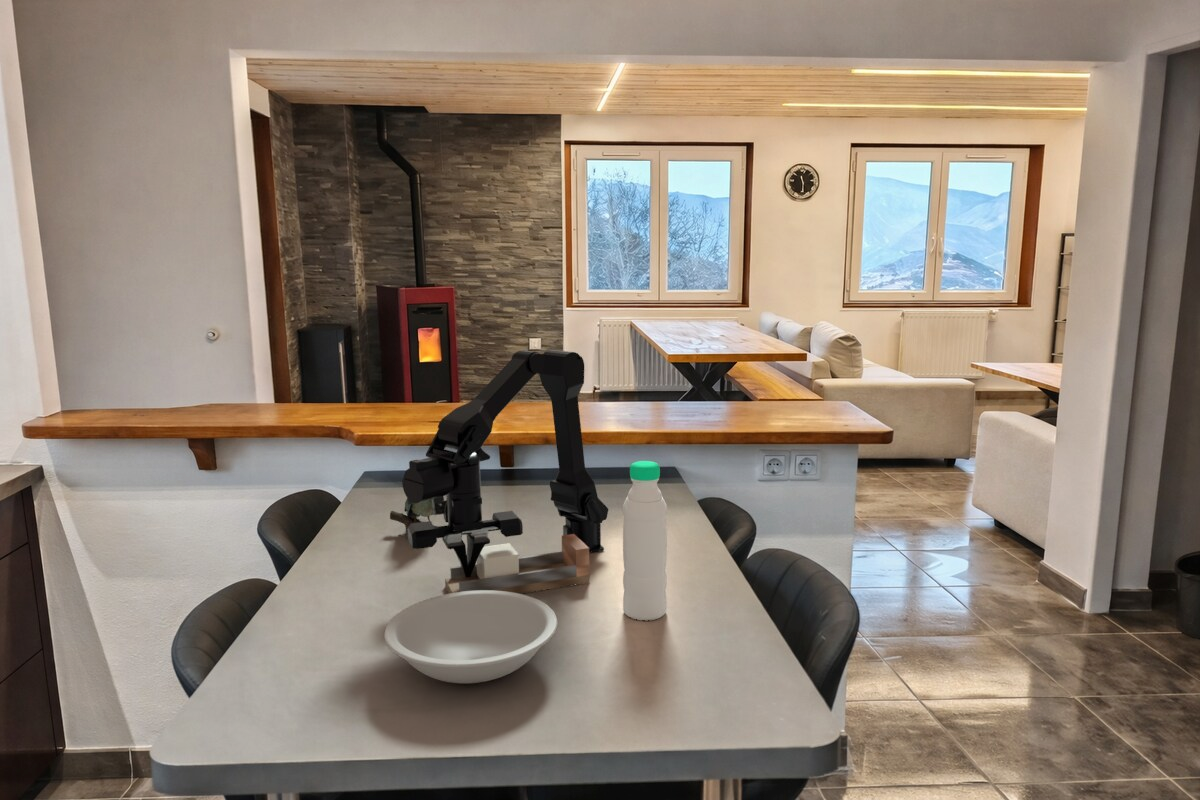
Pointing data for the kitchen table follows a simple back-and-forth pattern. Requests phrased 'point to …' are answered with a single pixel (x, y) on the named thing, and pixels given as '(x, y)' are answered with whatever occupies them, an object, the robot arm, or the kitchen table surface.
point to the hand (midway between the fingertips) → (467, 576)
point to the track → (532, 572)
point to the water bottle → (644, 545)
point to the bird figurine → (413, 513)
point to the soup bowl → (471, 634)
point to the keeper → (497, 561)
